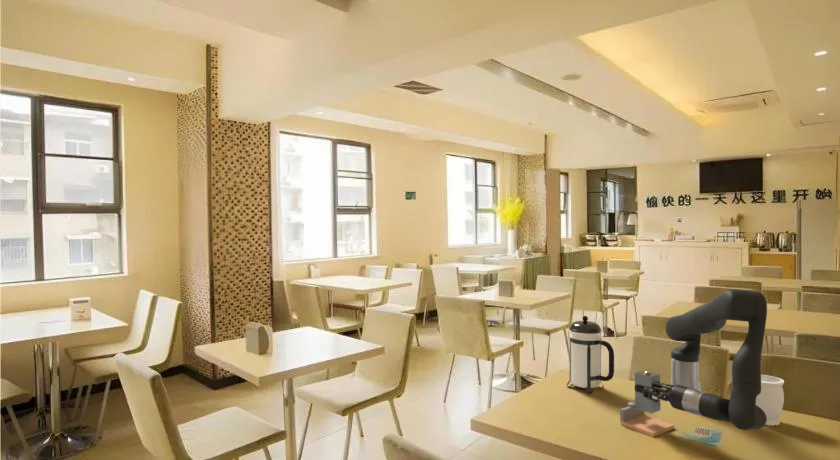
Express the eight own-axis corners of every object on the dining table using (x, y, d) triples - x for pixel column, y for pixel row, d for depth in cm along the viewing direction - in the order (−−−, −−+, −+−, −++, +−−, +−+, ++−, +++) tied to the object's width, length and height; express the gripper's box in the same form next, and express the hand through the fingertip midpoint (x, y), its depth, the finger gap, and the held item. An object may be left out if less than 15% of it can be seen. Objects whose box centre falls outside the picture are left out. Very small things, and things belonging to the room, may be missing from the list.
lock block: (643, 405, 172) (643, 368, 172) (660, 410, 167) (660, 372, 167) (635, 408, 169) (634, 370, 169) (651, 413, 164) (651, 375, 164)
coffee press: (569, 393, 200) (569, 319, 200) (564, 380, 216) (564, 312, 215) (614, 395, 197) (614, 320, 197) (606, 382, 213) (606, 313, 212)
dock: (638, 415, 177) (639, 399, 177) (674, 428, 166) (674, 410, 166) (618, 423, 171) (618, 406, 171) (653, 437, 160) (653, 418, 160)
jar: (779, 418, 174) (780, 375, 174) (787, 429, 165) (787, 384, 164) (743, 413, 179) (744, 372, 178) (749, 424, 169) (749, 380, 169)
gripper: (701, 384, 160) (652, 371, 174) (677, 392, 152) (627, 378, 166) (702, 407, 160) (652, 393, 174) (677, 417, 152) (627, 401, 166)
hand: (640, 386), depth 170 cm, fingers closed on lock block, 5 cm apart
